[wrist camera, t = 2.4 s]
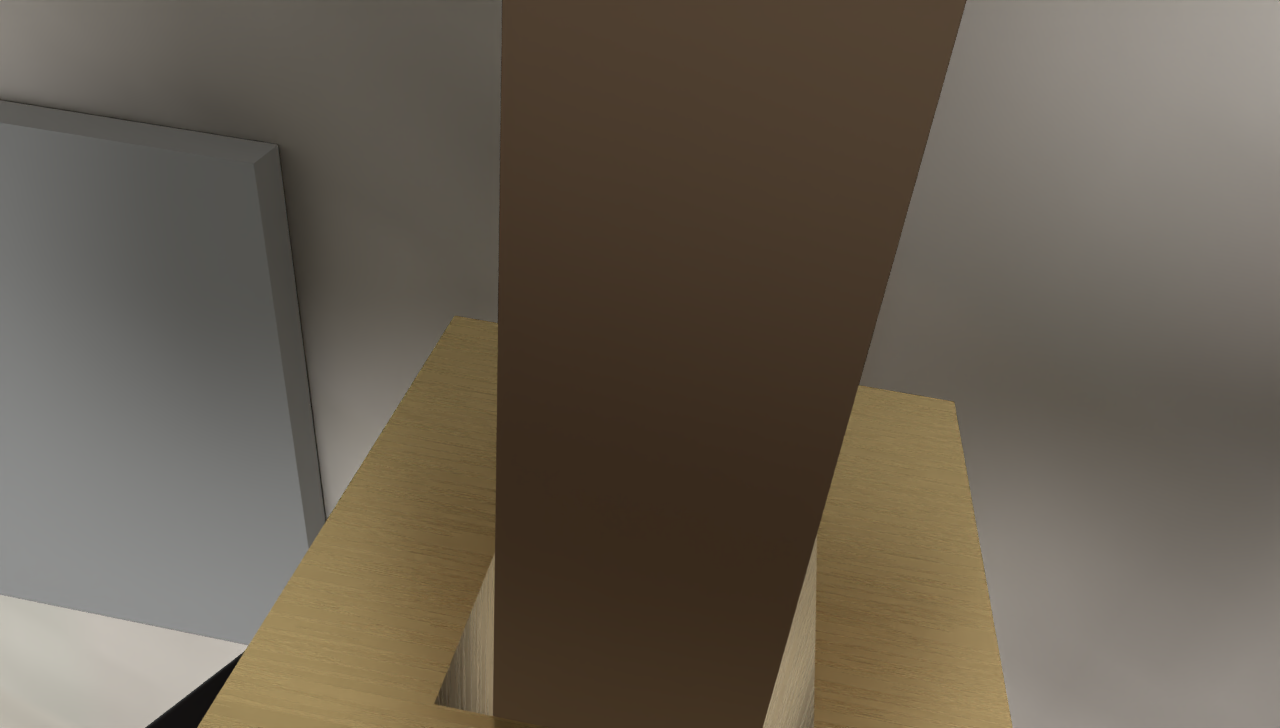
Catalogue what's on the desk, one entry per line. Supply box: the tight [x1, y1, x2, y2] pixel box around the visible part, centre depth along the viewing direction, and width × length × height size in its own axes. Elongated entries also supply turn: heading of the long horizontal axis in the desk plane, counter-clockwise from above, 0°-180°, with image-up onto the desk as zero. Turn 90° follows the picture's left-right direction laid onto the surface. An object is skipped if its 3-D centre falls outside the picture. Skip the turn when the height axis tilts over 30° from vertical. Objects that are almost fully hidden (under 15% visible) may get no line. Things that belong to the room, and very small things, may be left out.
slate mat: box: [0, 100, 325, 645], centre depth 14 cm, size 9×9×1 cm
